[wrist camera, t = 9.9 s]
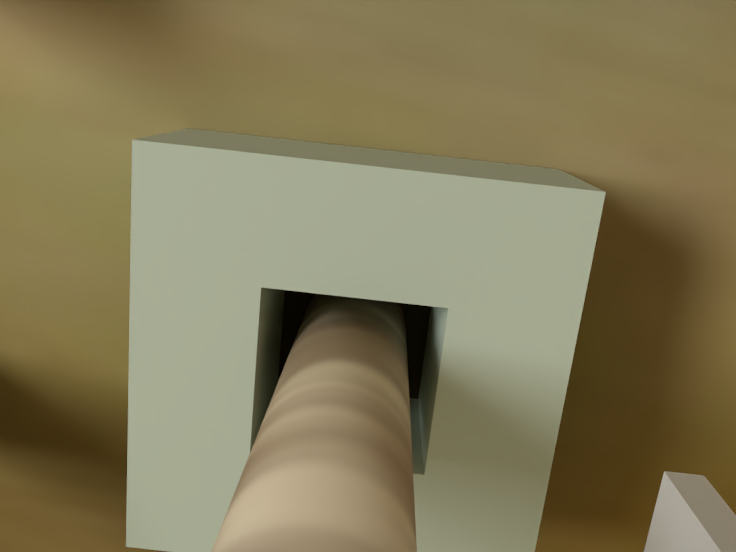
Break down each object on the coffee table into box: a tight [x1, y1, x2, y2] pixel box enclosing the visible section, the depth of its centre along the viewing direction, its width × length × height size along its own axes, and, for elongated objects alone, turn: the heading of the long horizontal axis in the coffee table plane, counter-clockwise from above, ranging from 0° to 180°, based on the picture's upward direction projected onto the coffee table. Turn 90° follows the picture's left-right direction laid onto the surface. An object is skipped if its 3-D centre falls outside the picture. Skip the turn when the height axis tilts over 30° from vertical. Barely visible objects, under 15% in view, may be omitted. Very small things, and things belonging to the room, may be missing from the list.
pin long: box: [211, 294, 417, 552], centre depth 16 cm, size 4×4×16 cm
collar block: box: [126, 128, 606, 552], centre depth 21 cm, size 12×12×5 cm
